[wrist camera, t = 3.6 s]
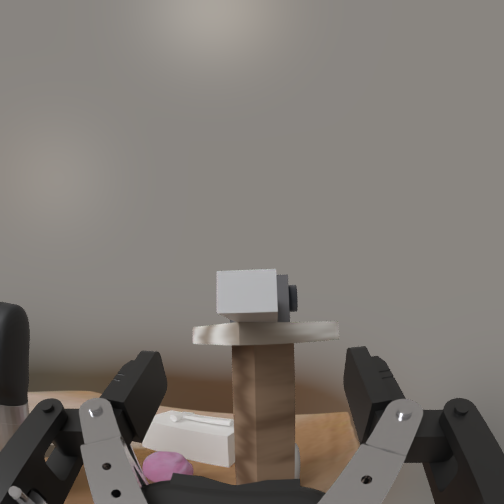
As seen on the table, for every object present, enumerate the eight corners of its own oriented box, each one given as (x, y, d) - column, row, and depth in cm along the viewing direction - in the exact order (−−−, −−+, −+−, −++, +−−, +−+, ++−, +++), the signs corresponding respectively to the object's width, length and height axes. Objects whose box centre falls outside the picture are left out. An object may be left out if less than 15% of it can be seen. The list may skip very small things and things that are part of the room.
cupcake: (205, 498, 36) (201, 454, 39) (167, 513, 30) (160, 466, 33) (173, 483, 41) (169, 441, 44) (137, 493, 35) (130, 448, 38)
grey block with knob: (316, 309, 16) (310, 227, 18) (191, 313, 17) (193, 233, 18) (295, 325, 35) (293, 286, 36) (236, 327, 36) (236, 288, 37)
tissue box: (173, 435, 72) (171, 403, 75) (251, 448, 64) (250, 412, 67) (142, 447, 59) (139, 411, 62) (228, 468, 51) (227, 427, 54)
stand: (205, 536, 24) (192, 327, 34) (277, 516, 30) (275, 328, 40) (248, 581, 15) (239, 321, 24) (329, 547, 20) (338, 321, 30)
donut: (300, 495, 37) (302, 451, 40) (281, 496, 37) (281, 452, 40) (295, 473, 47) (296, 434, 50) (279, 474, 47) (279, 435, 50)
